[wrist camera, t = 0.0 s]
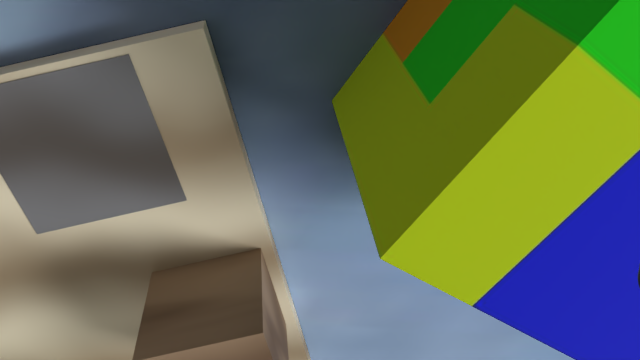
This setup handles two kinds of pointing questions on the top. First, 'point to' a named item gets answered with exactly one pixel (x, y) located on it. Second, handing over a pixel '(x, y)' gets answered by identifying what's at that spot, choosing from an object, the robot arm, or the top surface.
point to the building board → (118, 191)
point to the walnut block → (213, 312)
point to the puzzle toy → (509, 161)
